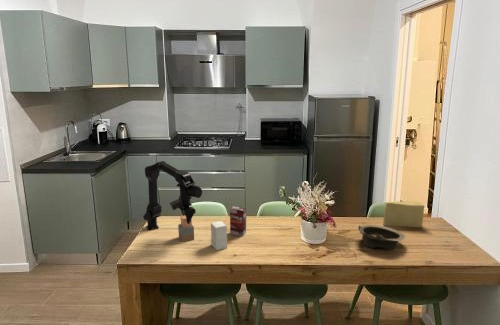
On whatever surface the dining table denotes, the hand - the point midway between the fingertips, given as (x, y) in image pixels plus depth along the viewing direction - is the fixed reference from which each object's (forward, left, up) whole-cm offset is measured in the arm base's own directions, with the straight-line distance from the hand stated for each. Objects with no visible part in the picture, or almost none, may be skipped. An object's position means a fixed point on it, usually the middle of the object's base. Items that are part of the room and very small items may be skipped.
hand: (186, 220), depth 217 cm
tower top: (0, 0, -7) cm, 7 cm away
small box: (+18, +13, -11) cm, 25 cm away
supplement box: (+7, +29, -11) cm, 32 cm away
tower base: (0, 0, -11) cm, 11 cm away
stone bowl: (+53, +95, -11) cm, 109 cm away
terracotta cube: (0, 0, -3) cm, 3 cm away
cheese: (+38, +126, -11) cm, 132 cm away
